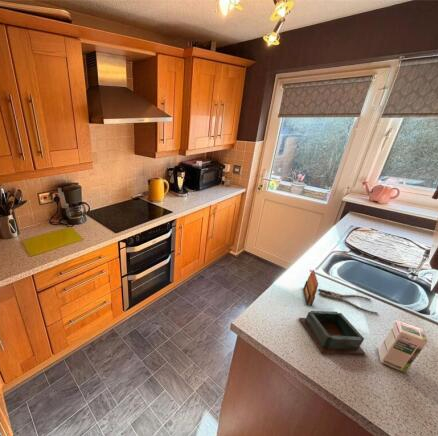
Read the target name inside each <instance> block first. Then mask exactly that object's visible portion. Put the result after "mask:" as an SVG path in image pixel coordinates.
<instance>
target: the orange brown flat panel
mask: <svg viewBox="0 0 438 436" xmlns="http://www.w3.org/2000/svg"><path fill="white" fill-rule="evenodd" d="M318 287H319V282H318V279H317V275H316V272H315V269H312V271H311V272H310V273H309V275H308V277H307V280H306V281H305V283H304V285H303V288H302V290H303V295H304V300H305V305H306V306H310V307H312V306H313V305H314V301H315V299H316V294H317V291H318Z"/></svg>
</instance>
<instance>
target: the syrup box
mask: <svg viewBox="0 0 438 436" xmlns="http://www.w3.org/2000/svg"><path fill="white" fill-rule="evenodd" d="M427 343H428V339H427V336H426V334H425V332H424V330H423V328H422V327H417V326H414V325H411V324H409V323H406V322H403V321H401V320H397V319H396V320H395V321H394V323H393V325H392V327H390V330H389V331H388V333H387V334H386V336H385V338H384V339H383V341H382V342H381V344H380V346H379V347H378V355H379V359H380V363H381V364H384V365H386V366H388V367H391V368H393V369H395V370H398V371H401V372H403V373H406V372H407V370H408V369H409V368H410V366H411V365H412V363H413V362H414V361H415V360H416V358H417V357H418V355H419V354H420V353H421V351H422V350H423V349H424V347H425V346H426V345H427Z"/></svg>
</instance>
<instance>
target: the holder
mask: <svg viewBox="0 0 438 436" xmlns="http://www.w3.org/2000/svg"><path fill="white" fill-rule="evenodd" d="M298 321H299V322H300V324H301V325H302V327H303V328H304V330H305V332H306V333H307V334H308V336H309V338H310V339H311V340H312V342H313V343H314V345H315V346H316V348H317V349H318V350H319V352H320V354H323V355H344V356H345V355H346V356H347V355H348V356H349V355H350V356H365V355H366V352H365V351H364V350H363V348H361V345H362V343H363V342H364V340H365V338H364V337H363V335H362V334H361V333H360V332H359V331H358V329H356V327H355V326H353V324H352V323H351V322H350V321H349V319H348V318H346V316H344V314H343V313H342V312H338V311H331V310H310V311H308V312H307V314H306V317H299V319H298Z"/></svg>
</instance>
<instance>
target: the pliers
mask: <svg viewBox="0 0 438 436" xmlns="http://www.w3.org/2000/svg"><path fill="white" fill-rule="evenodd" d="M317 291H318V292H319V293H318V295H320V296H323V297H326V298H329V299H332V300H337V301H340V302H344V303H346V304H349V305H350V306H352V307H354V308H356V309H359V310H360V311H363V312H366V313H369V314H374V315H378V312H377V311H372V310H368V309H366V308H362V307H361V306H359V305H356V304H354V303H353V302H351V301H349V300H347V299H345V298H360V299H365V300H367V301H371V298H370V297H366V296H362V295H358V294H341V293H338V292H334V291H330V290H326V289H321V288H318V289H317Z"/></svg>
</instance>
